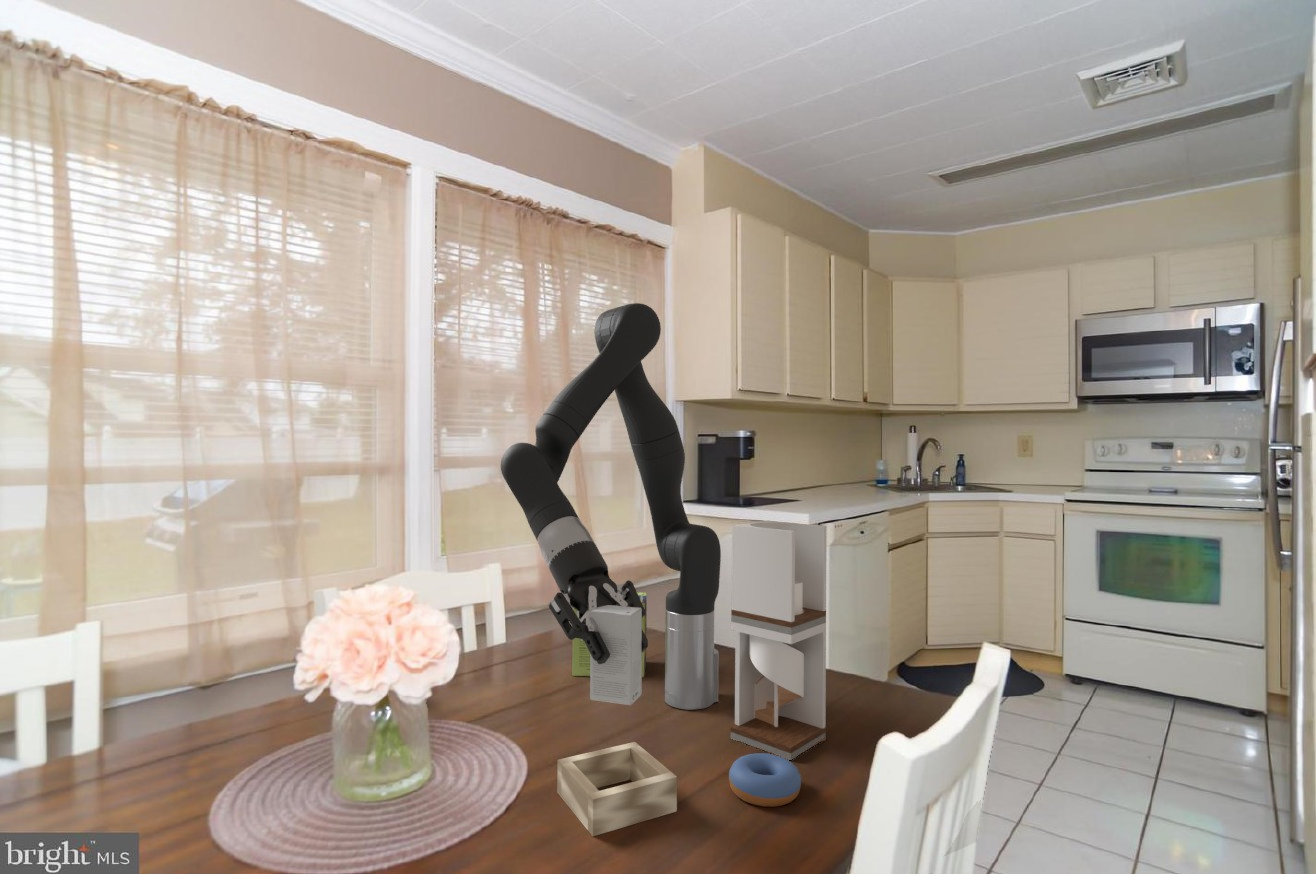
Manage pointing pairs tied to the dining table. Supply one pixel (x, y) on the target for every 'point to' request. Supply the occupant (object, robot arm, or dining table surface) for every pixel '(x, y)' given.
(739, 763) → the doughnut
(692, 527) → the robot arm
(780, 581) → the white shelf tower
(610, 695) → the skincare box
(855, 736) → the dining table surface
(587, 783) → the frame
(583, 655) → the protein box
